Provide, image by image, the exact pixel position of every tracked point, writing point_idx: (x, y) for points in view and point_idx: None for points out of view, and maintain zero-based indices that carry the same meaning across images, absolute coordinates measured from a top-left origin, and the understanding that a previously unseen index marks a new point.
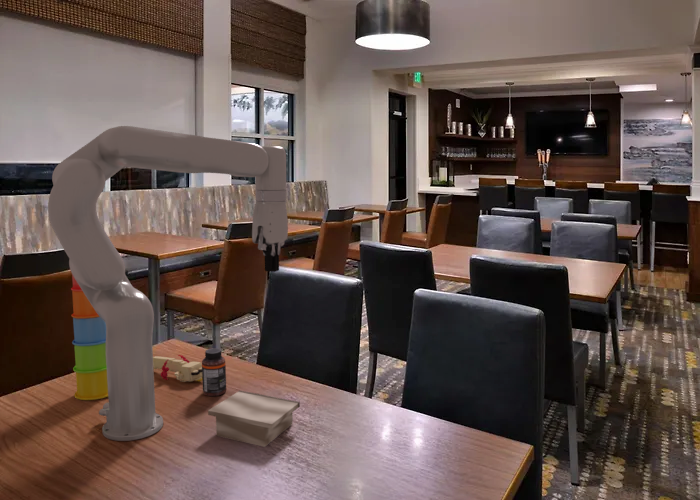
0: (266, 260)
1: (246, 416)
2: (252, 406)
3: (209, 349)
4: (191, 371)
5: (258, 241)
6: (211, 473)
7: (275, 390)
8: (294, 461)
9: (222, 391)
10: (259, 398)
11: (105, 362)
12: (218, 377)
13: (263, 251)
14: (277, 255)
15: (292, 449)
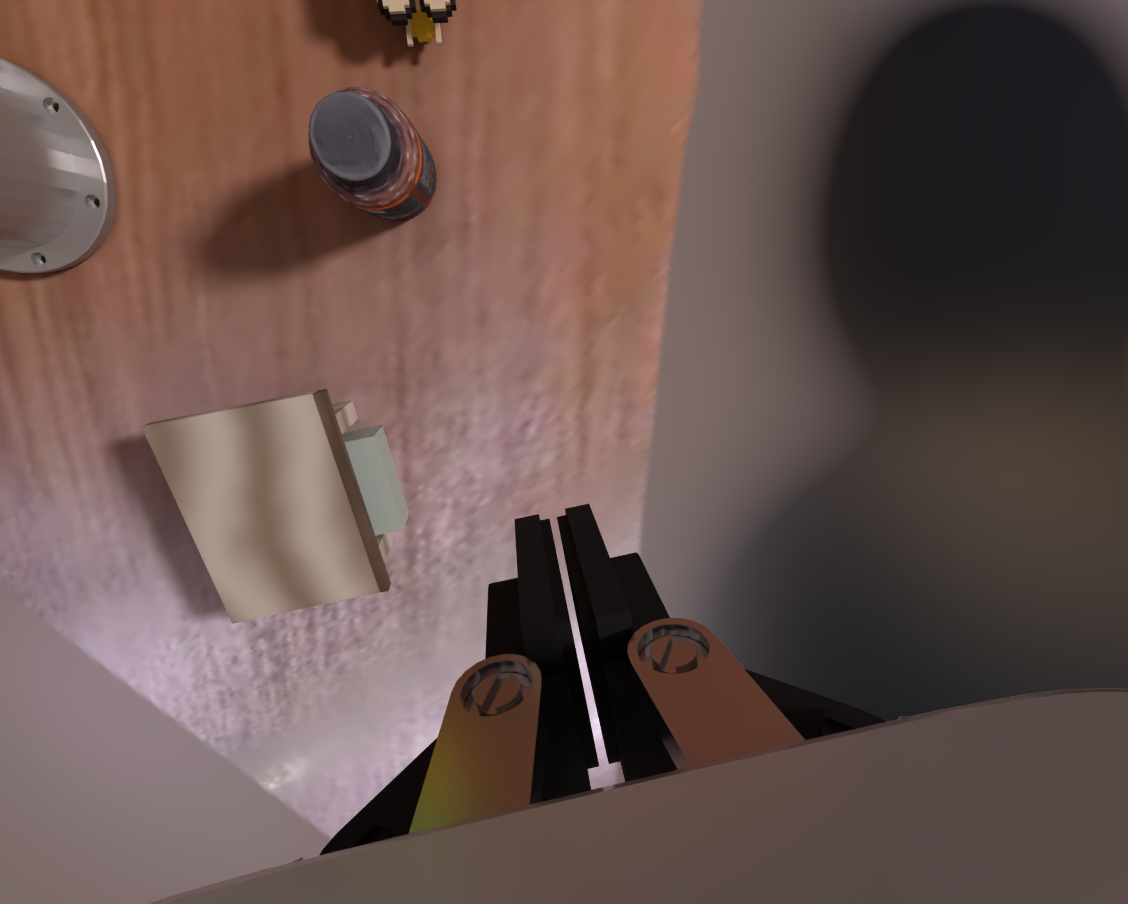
0: (486, 647)
1: (209, 544)
2: (268, 511)
3: (347, 103)
4: None
5: (346, 883)
6: (82, 556)
7: (537, 348)
8: (263, 649)
9: (395, 220)
10: (324, 487)
11: None
12: (365, 210)
13: (388, 789)
14: (625, 773)
15: (298, 615)
